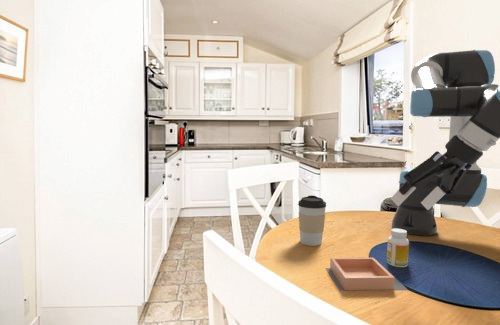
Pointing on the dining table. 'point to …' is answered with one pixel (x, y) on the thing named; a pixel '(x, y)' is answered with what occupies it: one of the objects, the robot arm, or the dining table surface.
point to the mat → (396, 287)
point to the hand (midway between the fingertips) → (410, 204)
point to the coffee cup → (311, 220)
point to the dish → (361, 274)
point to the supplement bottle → (398, 248)
